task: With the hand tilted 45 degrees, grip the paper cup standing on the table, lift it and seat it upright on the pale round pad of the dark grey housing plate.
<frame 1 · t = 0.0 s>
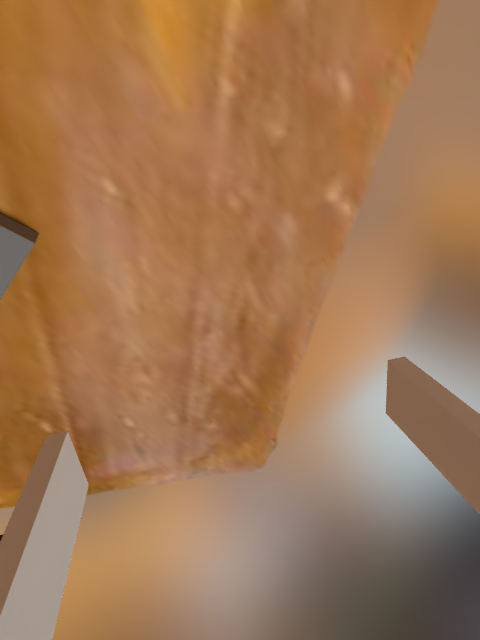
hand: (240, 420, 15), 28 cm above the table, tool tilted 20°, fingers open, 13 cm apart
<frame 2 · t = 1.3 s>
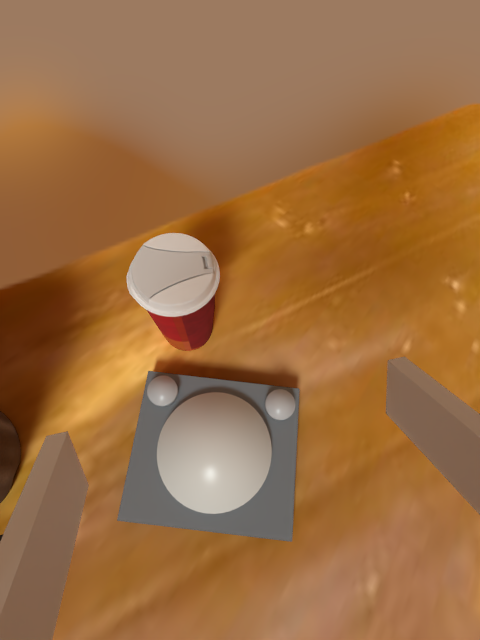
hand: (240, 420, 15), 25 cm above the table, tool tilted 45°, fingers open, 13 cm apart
paper cup: (187, 328, 43), on the table
filter housing base: (215, 450, 38), on the table
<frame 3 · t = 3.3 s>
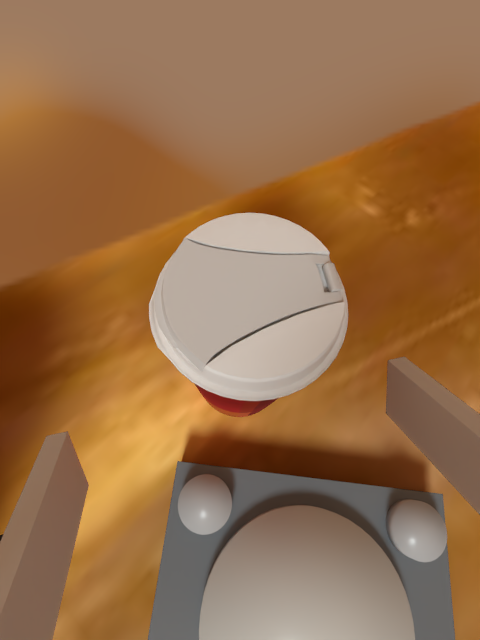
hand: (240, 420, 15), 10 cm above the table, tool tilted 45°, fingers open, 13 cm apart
paper cup: (237, 378, 26), on the table
filter housing base: (297, 607, 21), on the table
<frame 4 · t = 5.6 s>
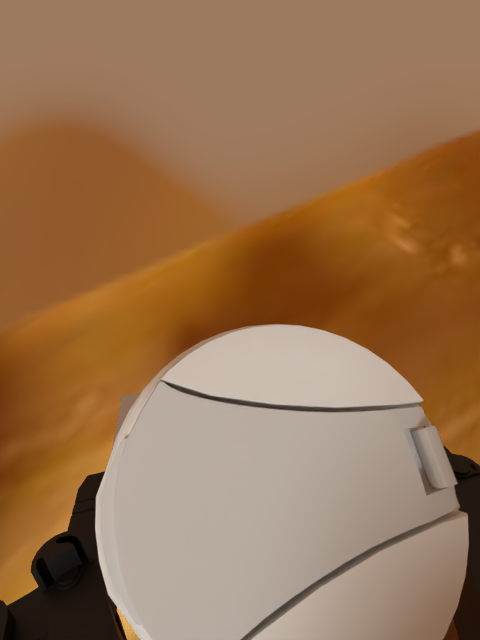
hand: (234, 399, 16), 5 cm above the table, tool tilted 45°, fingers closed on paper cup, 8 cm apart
paper cup: (245, 479, 20), on the table, touching gripper
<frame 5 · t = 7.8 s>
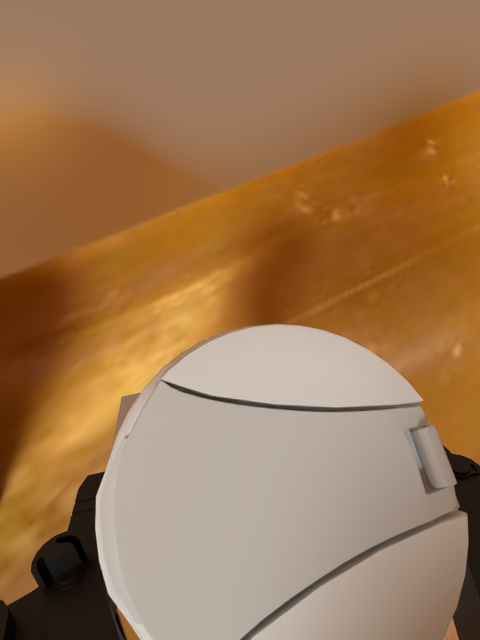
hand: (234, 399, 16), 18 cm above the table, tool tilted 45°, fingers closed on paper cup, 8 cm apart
paper cup: (245, 479, 20), point 12 cm above the table, touching gripper
when the fingers open (9 cm above the table, at t = 10.1 s): paper cup drops 1 cm, resting on filter housing base.
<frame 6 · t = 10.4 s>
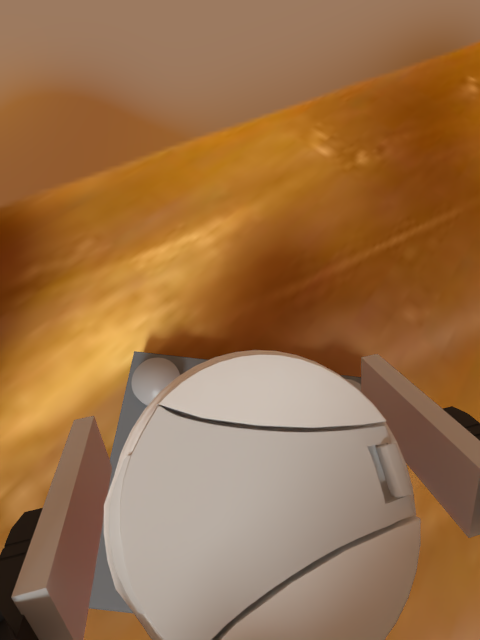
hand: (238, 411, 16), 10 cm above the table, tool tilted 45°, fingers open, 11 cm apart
paper cup: (240, 481, 21), point 3 cm above the table, touching filter housing base
filter housing base: (241, 478, 24), on the table
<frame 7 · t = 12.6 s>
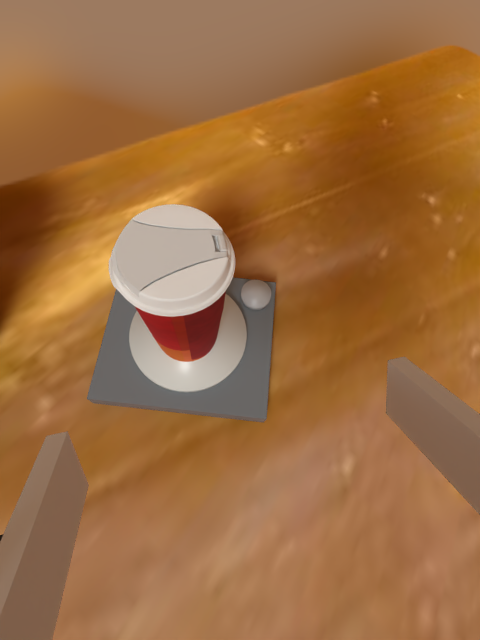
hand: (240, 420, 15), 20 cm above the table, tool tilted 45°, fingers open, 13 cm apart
paper cup: (186, 334, 35), point 3 cm above the table, touching filter housing base
filter housing base: (190, 342, 37), on the table
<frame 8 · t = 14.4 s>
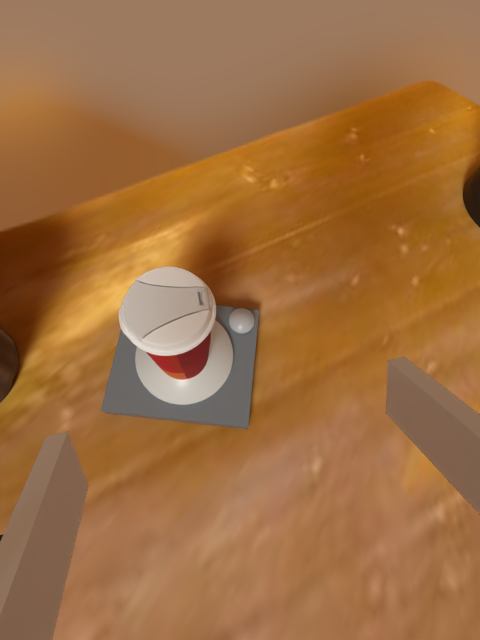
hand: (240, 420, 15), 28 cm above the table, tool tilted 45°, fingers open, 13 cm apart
paper cup: (183, 356, 42), point 3 cm above the table, touching filter housing base
filter housing base: (186, 361, 44), on the table
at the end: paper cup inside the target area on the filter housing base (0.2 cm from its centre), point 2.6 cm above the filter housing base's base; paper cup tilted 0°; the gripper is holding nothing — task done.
